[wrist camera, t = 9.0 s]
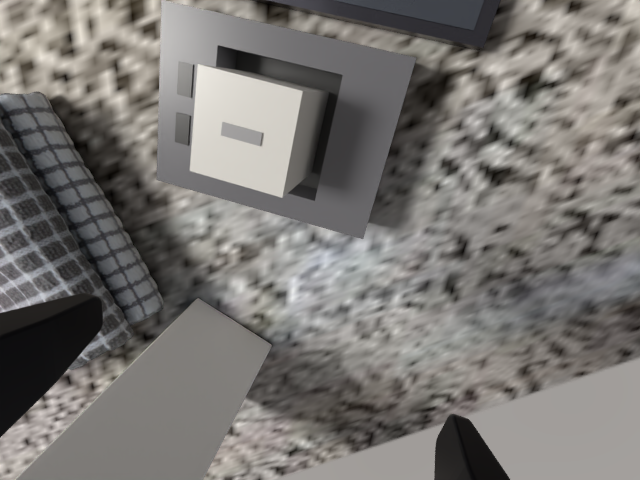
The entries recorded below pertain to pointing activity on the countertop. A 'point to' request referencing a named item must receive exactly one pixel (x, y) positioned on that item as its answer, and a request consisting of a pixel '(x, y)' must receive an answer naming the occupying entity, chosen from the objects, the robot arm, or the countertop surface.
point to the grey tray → (297, 67)
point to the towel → (63, 228)
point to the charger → (255, 129)
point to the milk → (162, 406)
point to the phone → (410, 17)
